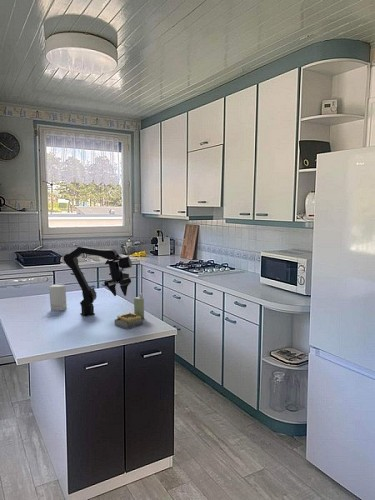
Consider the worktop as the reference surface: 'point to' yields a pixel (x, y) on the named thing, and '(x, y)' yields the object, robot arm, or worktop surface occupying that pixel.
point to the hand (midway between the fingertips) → (120, 295)
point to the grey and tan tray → (128, 320)
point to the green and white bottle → (139, 306)
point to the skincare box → (57, 297)
